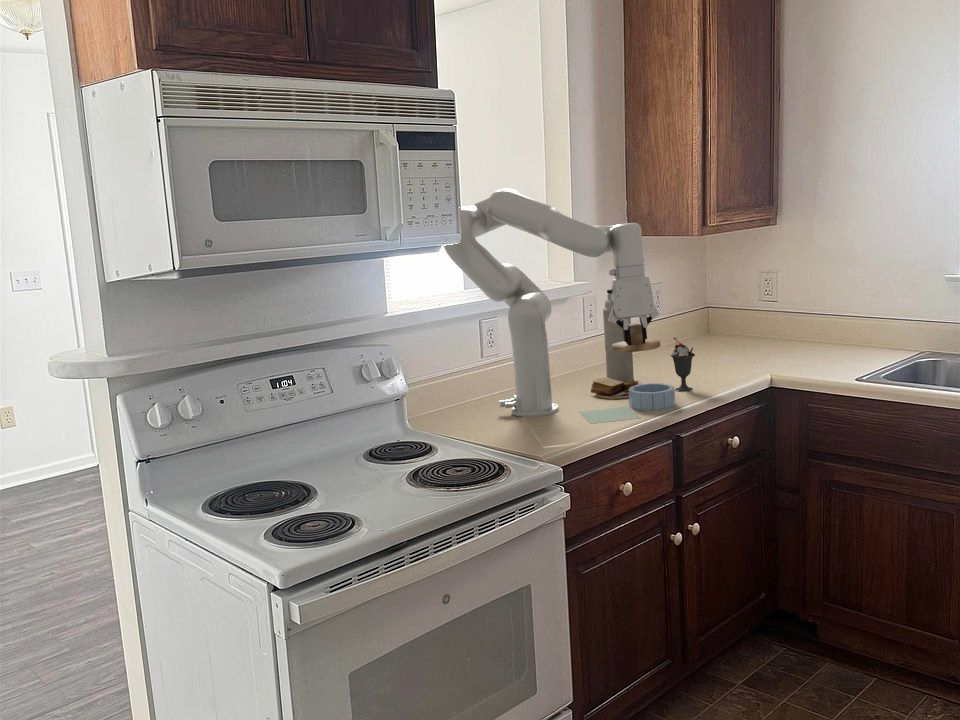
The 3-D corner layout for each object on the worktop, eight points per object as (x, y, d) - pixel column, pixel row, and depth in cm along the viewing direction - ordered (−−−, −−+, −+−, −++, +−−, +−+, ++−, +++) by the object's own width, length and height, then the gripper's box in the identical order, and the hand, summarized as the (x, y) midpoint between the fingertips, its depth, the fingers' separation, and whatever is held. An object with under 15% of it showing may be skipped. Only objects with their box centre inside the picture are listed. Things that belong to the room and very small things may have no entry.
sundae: (667, 389, 251) (664, 337, 249) (687, 385, 253) (685, 334, 251) (679, 393, 245) (677, 340, 242) (700, 389, 247) (698, 337, 244)
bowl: (637, 413, 227) (636, 395, 226) (624, 404, 238) (623, 386, 237) (680, 409, 228) (679, 390, 227) (666, 399, 239) (665, 381, 238)
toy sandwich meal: (621, 403, 240) (620, 386, 239) (584, 398, 250) (583, 381, 249) (649, 394, 248) (649, 377, 247) (612, 389, 258) (611, 373, 257)
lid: (618, 354, 221) (615, 330, 220) (607, 346, 233) (605, 324, 232) (666, 347, 222) (664, 324, 221) (653, 341, 234) (651, 318, 233)
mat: (590, 425, 220) (590, 423, 220) (578, 413, 233) (578, 411, 232) (641, 419, 221) (641, 417, 221) (626, 408, 234) (626, 406, 234)
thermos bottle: (634, 378, 269) (629, 286, 264) (633, 383, 262) (628, 289, 257) (607, 379, 271) (602, 288, 266) (606, 384, 263) (600, 291, 258)
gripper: (601, 277, 220) (607, 349, 223) (665, 269, 221) (671, 341, 224) (594, 275, 227) (601, 345, 230) (657, 267, 228) (662, 337, 231)
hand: (635, 342), depth 227 cm, fingers closed on lid, 3 cm apart
